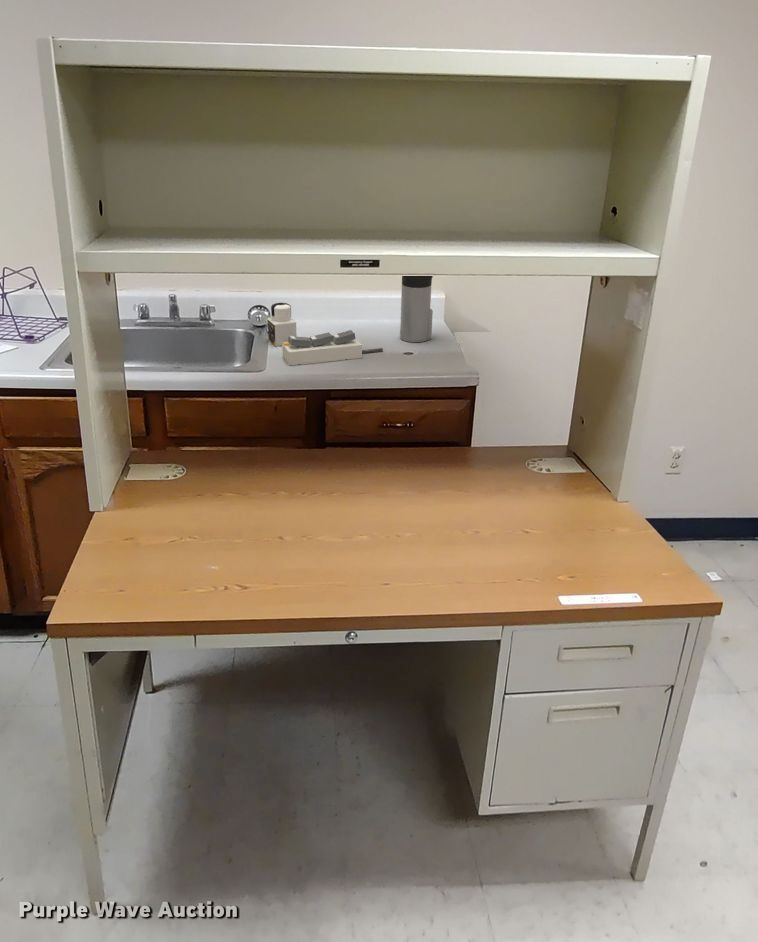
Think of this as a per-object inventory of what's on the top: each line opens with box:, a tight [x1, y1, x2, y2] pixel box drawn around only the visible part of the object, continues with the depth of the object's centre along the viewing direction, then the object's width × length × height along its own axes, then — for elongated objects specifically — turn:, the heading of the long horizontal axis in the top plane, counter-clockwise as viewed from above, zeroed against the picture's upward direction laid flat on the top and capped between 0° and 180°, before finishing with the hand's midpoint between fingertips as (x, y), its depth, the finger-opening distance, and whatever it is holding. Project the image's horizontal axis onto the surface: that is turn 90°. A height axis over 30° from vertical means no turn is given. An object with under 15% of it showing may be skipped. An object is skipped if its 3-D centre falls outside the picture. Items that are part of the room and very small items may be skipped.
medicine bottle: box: [267, 302, 298, 347], centre depth 233 cm, size 7×7×12 cm
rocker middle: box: [308, 332, 333, 346], centre depth 221 cm, size 6×4×2 cm, turn 110°
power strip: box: [281, 339, 384, 366], centre depth 224 cm, size 30×8×5 cm, turn 111°
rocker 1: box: [288, 335, 312, 347], centre depth 219 cm, size 6×4×2 cm, turn 111°
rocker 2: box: [331, 329, 357, 344], centre depth 223 cm, size 6×4×2 cm, turn 110°
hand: (334, 248), depth 222 cm, fingers closed
